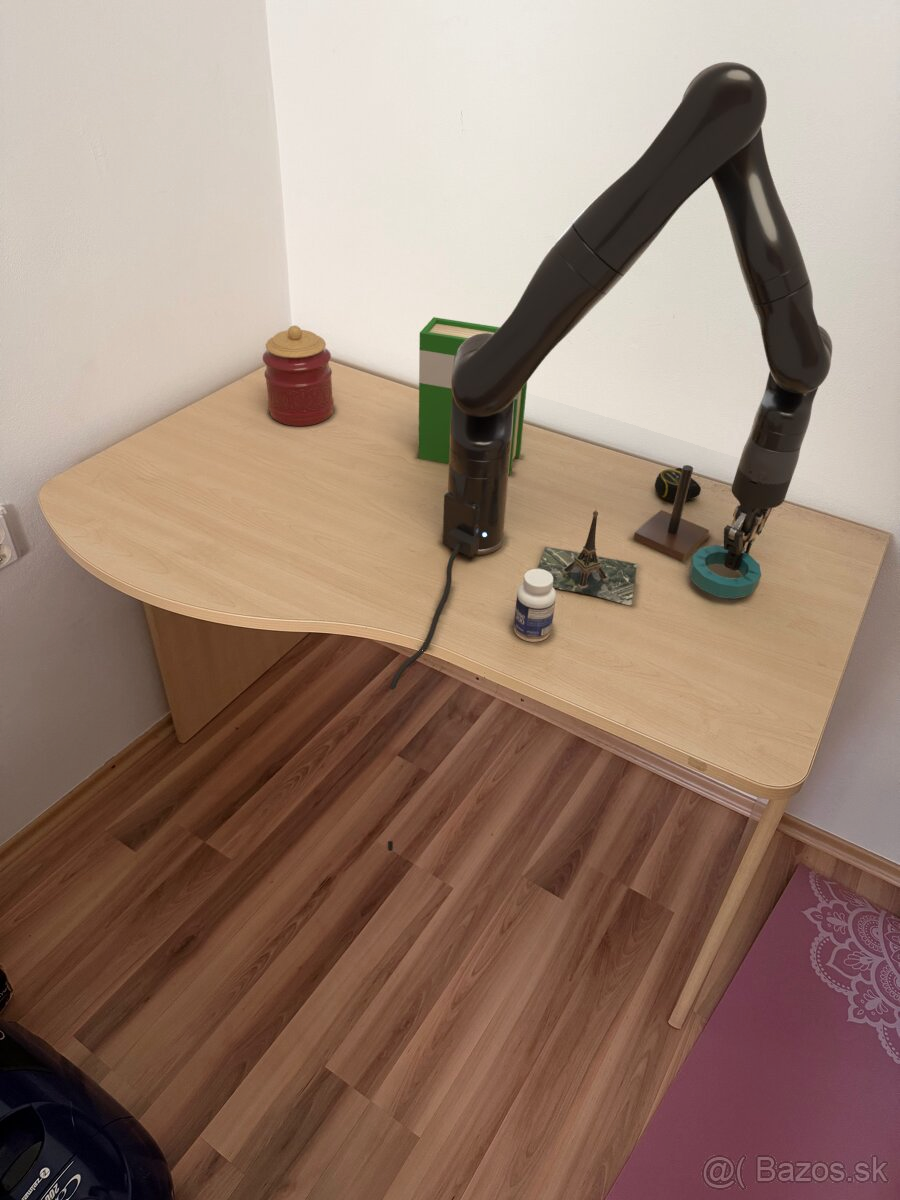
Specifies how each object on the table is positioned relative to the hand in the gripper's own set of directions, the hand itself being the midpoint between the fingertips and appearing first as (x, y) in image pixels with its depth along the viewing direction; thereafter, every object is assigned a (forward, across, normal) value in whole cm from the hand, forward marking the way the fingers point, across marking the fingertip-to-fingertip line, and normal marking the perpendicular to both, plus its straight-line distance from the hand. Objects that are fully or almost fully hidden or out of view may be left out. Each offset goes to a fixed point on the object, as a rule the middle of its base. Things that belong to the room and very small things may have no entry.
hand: (734, 564), depth 130 cm
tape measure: (+2, -15, -18) cm, 24 cm away
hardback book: (+3, 0, -53) cm, 53 cm away
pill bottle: (+2, +32, -16) cm, 36 cm away
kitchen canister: (+3, +9, -89) cm, 89 cm away
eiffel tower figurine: (+2, +16, -17) cm, 23 cm away
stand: (+2, -2, -12) cm, 12 cm away
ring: (0, +4, 0) cm, 4 cm away
